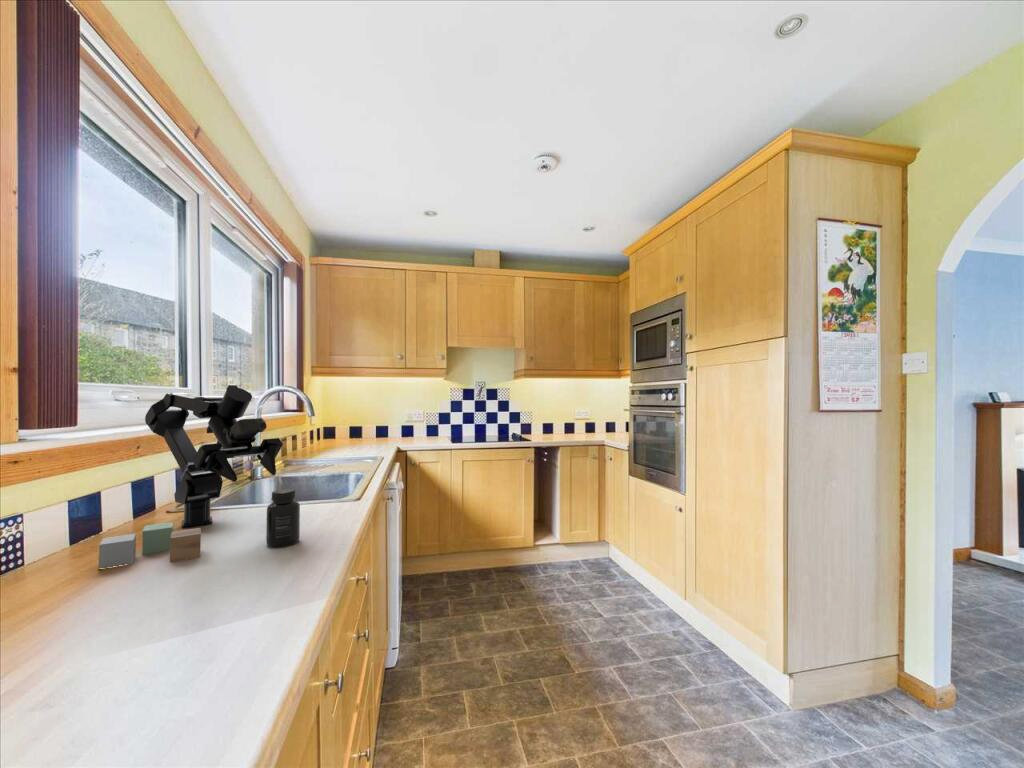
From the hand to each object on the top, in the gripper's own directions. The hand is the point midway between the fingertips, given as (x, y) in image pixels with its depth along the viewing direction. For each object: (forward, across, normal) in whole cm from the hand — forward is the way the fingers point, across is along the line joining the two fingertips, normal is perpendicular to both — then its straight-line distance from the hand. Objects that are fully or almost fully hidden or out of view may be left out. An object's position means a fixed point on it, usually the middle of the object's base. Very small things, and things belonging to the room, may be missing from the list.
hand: (256, 477), depth 102 cm
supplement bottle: (+16, +2, +6) cm, 17 cm away
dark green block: (0, -14, +19) cm, 24 cm away
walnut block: (+8, -13, +13) cm, 20 cm away
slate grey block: (+2, -22, +18) cm, 28 cm away
